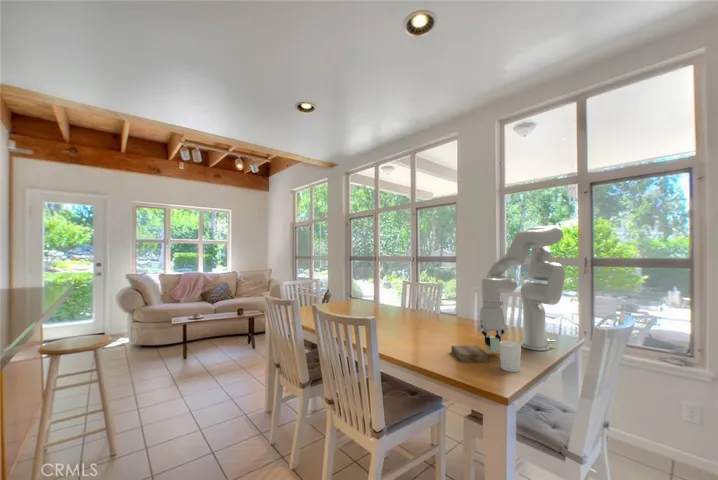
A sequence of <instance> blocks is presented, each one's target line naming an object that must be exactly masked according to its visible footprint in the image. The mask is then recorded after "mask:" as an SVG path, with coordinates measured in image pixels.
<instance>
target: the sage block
mask: <svg viewBox="0 0 718 480" xmlns="http://www.w3.org/2000/svg"><path fill="white" fill-rule="evenodd" d="M495 336H496V335H494V336H493V335H490V336H489V337H490V346H488V345H486V350H487V351H488V352H489V353H491V354H492V353H493V354H494V353H500V347H499V339H498V338H497V337H495Z"/></svg>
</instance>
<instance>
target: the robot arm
mask: <svg viewBox="0 0 718 480" xmlns="http://www.w3.org/2000/svg"><path fill="white" fill-rule="evenodd" d="M563 234H564V232H563V230H562V228H561V227H560V226H557V225H544V226H543V225H542V226H534V227H532V226H531V227H529V228H527V229H526V230H521V231H518V232H516V234H515V235H514V237H513V239H512V242H511V244H510V246H509V247H508V249H507V251H506V254H505V255H504V256H503V257H502V258H500V259H498V260H497V261H496V262H495V263H494V264H493V265H491V267H490V269H489V270H488V272H487V275H486V277H484V278H482V280H481V290H482V291H481V293H482V296H481V297H482V307H480V310H479V321H478V322H479V323H478V324H479V325H478V327H477V329H476V330H477V331H478V332H479V333H480V334H482V335H483V336H484V344H485V345H486V346H487V345H488V346H490V337H491V336H490V332H492V331H494V332H495V335H494V336H495V337H497V338H498V339H499V342H501V341H502V336H503V335H504V334H505V333H506V332H507V331H508V330H509V328H508V327H507V326H506V324H505V315H504V311H503V307H501V306H503V305H504V302H503V301H501V294H511V293H514V292H515V291H516V290H517V288H518V284H517V281H516V280H515V279H514V278H512V277H510V276H502V275H503V274H504V273H506V272H507V271H508V270H510V269H514V268H517V267H519V266H522V265H523V264H525V261H526V259H527V256H528V254H529V252H530V249H531V258H530V262H529V267H528V277H529V279H530V280H533V281H538V282H533V281H532V282H531V281H530V282H526V283H523V284H522V285H521V288H520V296H521V301H522V311H523V312H522V314H523V316H522V318H523V319H522V321H523V323H522V324H523V325H522V326H523V330H522V331H523V340H522V341H520V343H519V344H521V348H525V349H528V350H532V351H549V350H550V349H551V348H550V345H551V344H552V345H554V344H556V343H557V341H556V339H549V338H546V310H545V308H544V306H543V304H545V305H550V306H554V305H557V304H559V302H560V301H561V298H562V294H563V289H564V284H565V283H564V282H565V279H566V272H565V268H564V266H563V265H562V264H561V263H559V262H558V263H557V262H552V261H551V260H552V251H551V249H550V248H549V246H553V245H556V244H558V243H559V242H561V240H562V239H563V236H564V235H563ZM539 282H540V283H539ZM541 282H546V283H541Z"/></svg>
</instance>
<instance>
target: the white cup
mask: <svg viewBox="0 0 718 480" xmlns="http://www.w3.org/2000/svg"><path fill="white" fill-rule="evenodd" d="M499 348H500V352H499V359H500V367H501V369H502V370H504V371H506V372H510V373H511V372H512V373H516V372H519V371H520V369H521V357H522V356H521V355H522V346H521V344H520V343H518V342H516V341H511V340H501V342H499Z"/></svg>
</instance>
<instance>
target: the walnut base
mask: <svg viewBox="0 0 718 480" xmlns="http://www.w3.org/2000/svg"><path fill="white" fill-rule="evenodd" d="M451 353H452V354H453V356H455V358H457V359H458V360H459V361H460V362H461V363H469V362H470V363H471V362H472V363H473V362H474V363H475V362H476V363H478V362H479V363H481V362H482V363H483V362H484V363H485V362H490V355H489V353H487V352H486V351H485V350H483V349H482V348H481V347H480V346H478V345H451Z"/></svg>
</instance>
